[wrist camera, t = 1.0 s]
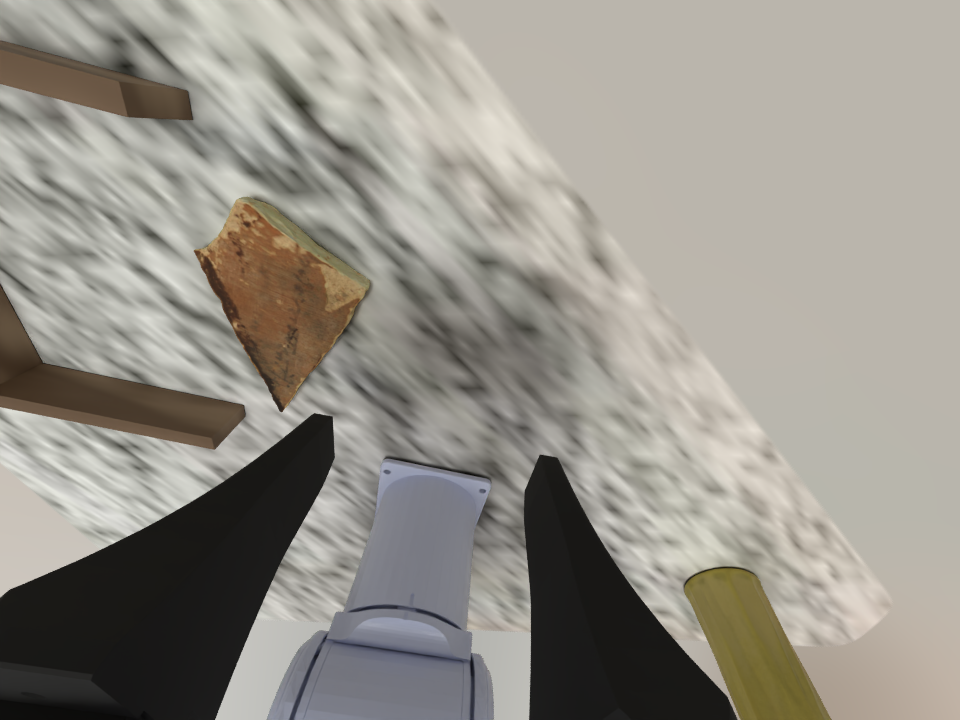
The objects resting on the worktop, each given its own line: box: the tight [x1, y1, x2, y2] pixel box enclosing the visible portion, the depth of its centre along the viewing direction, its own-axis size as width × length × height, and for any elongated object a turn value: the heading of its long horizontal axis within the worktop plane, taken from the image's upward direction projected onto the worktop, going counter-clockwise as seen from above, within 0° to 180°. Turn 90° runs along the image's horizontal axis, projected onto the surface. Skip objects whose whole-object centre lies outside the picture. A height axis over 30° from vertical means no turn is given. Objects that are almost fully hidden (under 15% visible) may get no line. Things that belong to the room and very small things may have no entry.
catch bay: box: [0, 41, 245, 450], centre depth 17 cm, size 18×14×3 cm
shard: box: [194, 197, 370, 412], centre depth 19 cm, size 11×8×2 cm
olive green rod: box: [684, 568, 831, 720], centre depth 26 cm, size 6×6×14 cm
